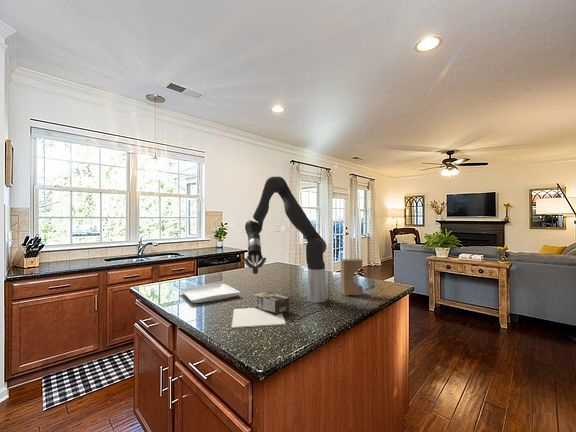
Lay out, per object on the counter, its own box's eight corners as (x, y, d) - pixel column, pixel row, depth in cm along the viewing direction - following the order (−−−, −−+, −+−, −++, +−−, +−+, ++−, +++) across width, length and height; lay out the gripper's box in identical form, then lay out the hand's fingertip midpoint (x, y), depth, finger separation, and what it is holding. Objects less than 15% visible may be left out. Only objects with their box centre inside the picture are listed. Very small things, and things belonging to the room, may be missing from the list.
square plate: (241, 298, 154) (241, 291, 154) (190, 307, 138) (190, 299, 138) (223, 288, 176) (223, 282, 176) (178, 295, 161) (178, 288, 161)
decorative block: (358, 292, 163) (358, 258, 163) (362, 295, 157) (362, 260, 157) (340, 293, 161) (340, 259, 161) (344, 296, 155) (344, 260, 155)
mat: (279, 307, 136) (279, 306, 136) (285, 324, 115) (285, 323, 115) (233, 310, 133) (233, 309, 133) (231, 328, 111) (231, 327, 111)
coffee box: (253, 307, 135) (274, 315, 123) (253, 294, 135) (274, 301, 123) (268, 303, 141) (289, 311, 129) (268, 291, 141) (289, 297, 130)
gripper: (242, 244, 156) (242, 269, 144) (266, 243, 158) (268, 269, 146) (242, 252, 161) (242, 277, 149) (265, 251, 163) (267, 276, 151)
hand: (255, 273), depth 147 cm, fingers closed
